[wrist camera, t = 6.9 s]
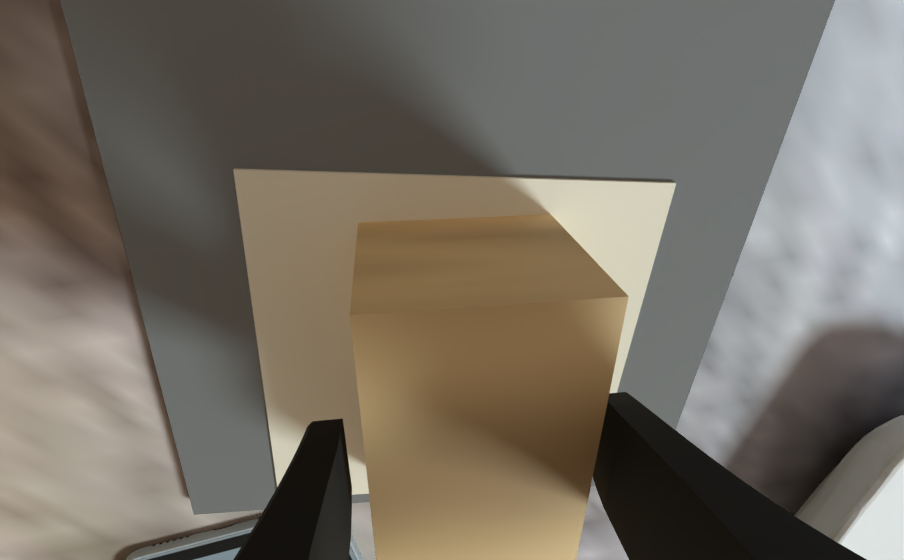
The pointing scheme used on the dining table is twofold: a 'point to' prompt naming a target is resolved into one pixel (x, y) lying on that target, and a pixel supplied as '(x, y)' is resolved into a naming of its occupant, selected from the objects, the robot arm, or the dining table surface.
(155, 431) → the dining table surface
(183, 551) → the smartphone
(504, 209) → the mat
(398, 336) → the pine block
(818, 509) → the salad plate
